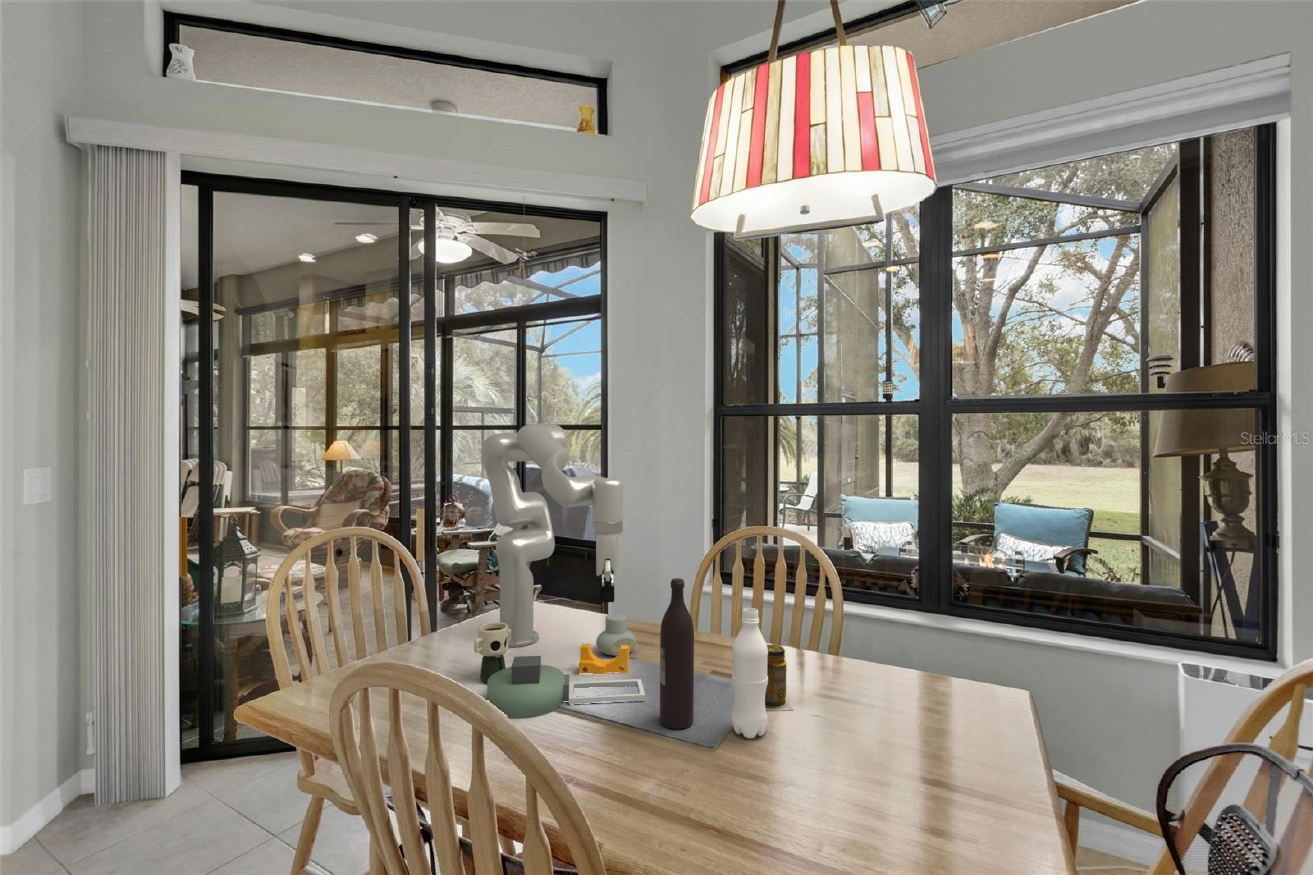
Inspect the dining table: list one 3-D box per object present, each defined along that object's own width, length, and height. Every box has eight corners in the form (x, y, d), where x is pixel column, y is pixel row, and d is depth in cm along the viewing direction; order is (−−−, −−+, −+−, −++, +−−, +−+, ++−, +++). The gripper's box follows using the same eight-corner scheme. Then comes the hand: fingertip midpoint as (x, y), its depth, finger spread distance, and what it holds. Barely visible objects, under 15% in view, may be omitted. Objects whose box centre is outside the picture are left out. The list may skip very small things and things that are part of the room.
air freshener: (604, 661, 165) (604, 623, 165) (591, 651, 172) (591, 615, 172) (640, 653, 171) (641, 617, 170) (627, 644, 178) (627, 609, 178)
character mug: (484, 690, 146) (484, 635, 146) (465, 683, 150) (465, 629, 150) (520, 676, 155) (520, 623, 155) (501, 669, 159) (501, 618, 159)
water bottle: (745, 744, 122) (746, 617, 122) (724, 728, 128) (725, 607, 128) (774, 736, 125) (775, 612, 125) (753, 721, 132) (754, 603, 131)
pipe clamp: (578, 675, 156) (579, 649, 156) (582, 668, 160) (582, 643, 160) (626, 677, 155) (626, 651, 155) (628, 670, 159) (629, 645, 159)
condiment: (784, 694, 145) (784, 643, 145) (793, 711, 137) (793, 656, 137) (752, 694, 145) (753, 643, 145) (760, 711, 137) (760, 656, 136)
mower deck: (492, 686, 148) (492, 649, 148) (639, 680, 153) (639, 643, 153) (482, 720, 131) (482, 677, 131) (647, 711, 136) (647, 670, 136)
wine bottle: (676, 711, 136) (676, 574, 136) (700, 722, 131) (701, 580, 130) (652, 722, 131) (653, 579, 131) (677, 734, 126) (678, 585, 126)
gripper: (593, 523, 164) (593, 588, 164) (591, 534, 147) (591, 606, 147) (621, 522, 164) (621, 587, 165) (623, 533, 147) (623, 606, 147)
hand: (607, 596), depth 156 cm, fingers open, 9 cm apart
